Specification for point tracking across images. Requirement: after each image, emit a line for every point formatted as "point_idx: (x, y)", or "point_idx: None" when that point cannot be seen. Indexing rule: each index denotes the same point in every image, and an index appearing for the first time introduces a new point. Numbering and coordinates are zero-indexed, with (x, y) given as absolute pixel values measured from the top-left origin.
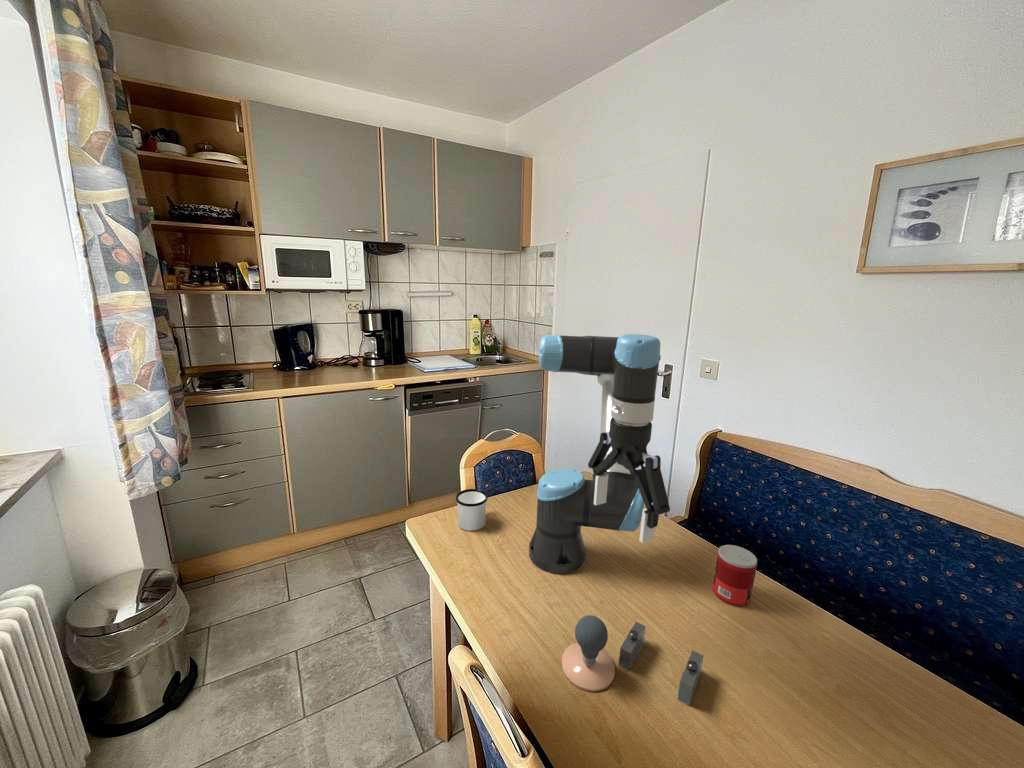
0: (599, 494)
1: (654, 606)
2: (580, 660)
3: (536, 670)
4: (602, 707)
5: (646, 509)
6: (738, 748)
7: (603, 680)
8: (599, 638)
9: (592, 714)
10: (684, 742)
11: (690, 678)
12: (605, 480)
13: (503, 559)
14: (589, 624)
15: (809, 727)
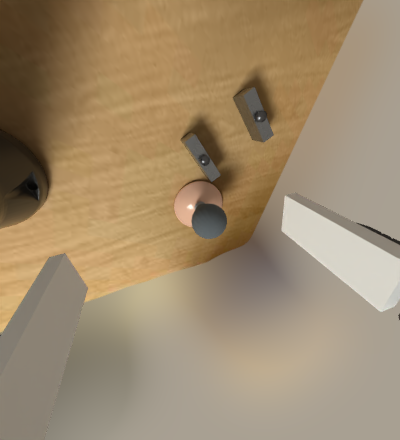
0: (69, 318)
1: (135, 68)
2: (193, 210)
3: (189, 244)
4: (232, 206)
5: (393, 301)
6: (301, 116)
7: (217, 199)
8: (226, 222)
9: (234, 215)
10: (277, 159)
11: (266, 128)
12: (16, 383)
13: (12, 254)
14: (217, 233)
15: (329, 14)
